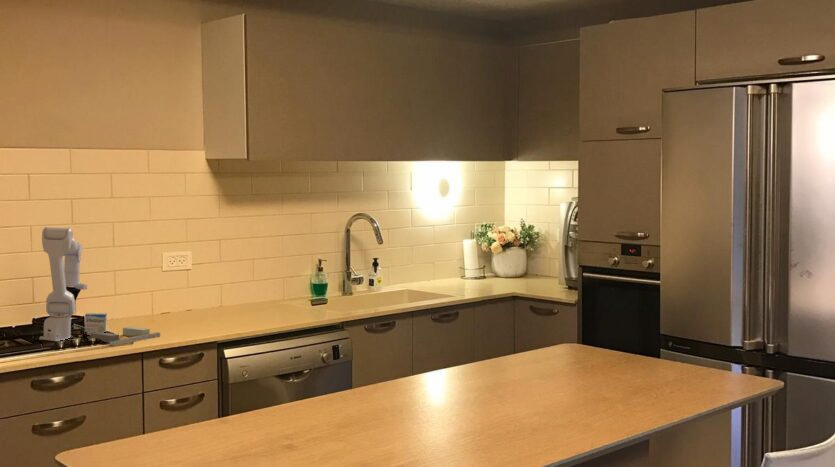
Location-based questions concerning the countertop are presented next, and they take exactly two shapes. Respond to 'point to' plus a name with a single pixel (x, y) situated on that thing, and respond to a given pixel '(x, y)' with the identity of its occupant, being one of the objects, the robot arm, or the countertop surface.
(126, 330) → the mounted modules
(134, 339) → the din rail
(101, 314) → the medicine box
